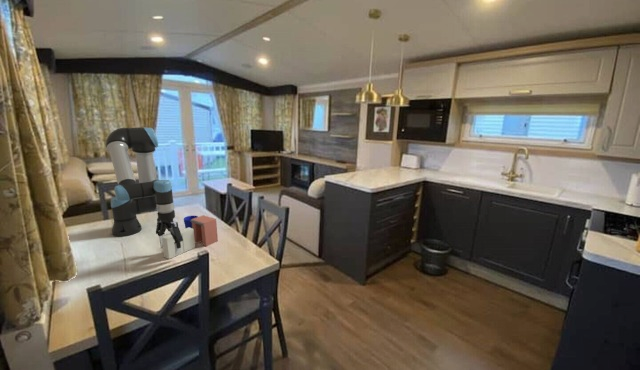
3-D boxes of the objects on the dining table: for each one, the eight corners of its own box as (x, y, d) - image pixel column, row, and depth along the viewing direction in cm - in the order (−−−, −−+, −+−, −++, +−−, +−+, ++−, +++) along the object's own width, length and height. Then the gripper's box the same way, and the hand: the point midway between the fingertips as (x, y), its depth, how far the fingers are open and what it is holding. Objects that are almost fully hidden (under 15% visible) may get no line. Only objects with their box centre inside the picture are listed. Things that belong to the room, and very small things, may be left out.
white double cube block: (164, 256, 143) (162, 237, 140) (190, 245, 156) (188, 227, 153) (169, 258, 141) (166, 239, 138) (195, 247, 154) (193, 228, 151)
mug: (200, 236, 167) (198, 221, 165) (182, 234, 170) (180, 219, 167) (207, 231, 175) (206, 216, 173) (190, 229, 178) (189, 214, 175)
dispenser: (192, 242, 161) (190, 219, 157) (205, 236, 168) (203, 215, 164) (205, 246, 155) (203, 223, 152) (217, 241, 162) (216, 218, 159)
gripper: (144, 208, 141) (150, 247, 146) (173, 218, 129) (178, 259, 134) (159, 204, 147) (164, 241, 153) (188, 213, 135) (192, 253, 141)
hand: (170, 250), depth 144 cm, fingers open, 12 cm apart
